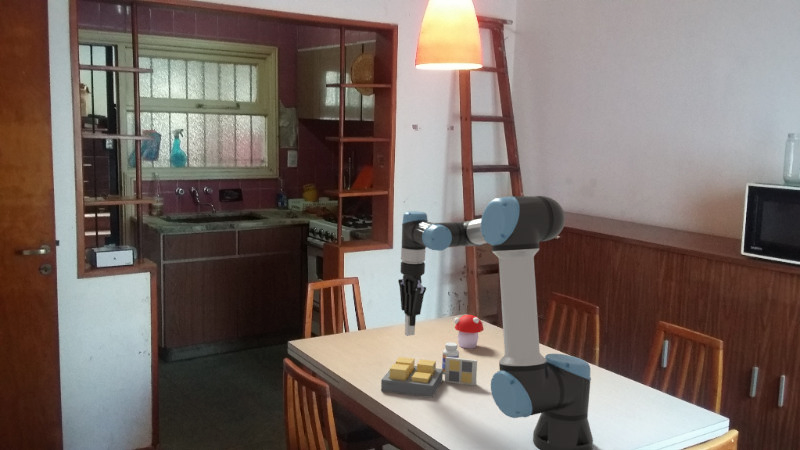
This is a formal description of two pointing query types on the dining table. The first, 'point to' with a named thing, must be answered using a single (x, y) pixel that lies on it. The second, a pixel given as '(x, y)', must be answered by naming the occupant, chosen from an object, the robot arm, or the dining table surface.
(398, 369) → the button
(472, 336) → the mushroom
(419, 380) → the button
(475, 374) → the plaque
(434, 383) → the board
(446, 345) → the pill bottle
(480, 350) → the dining table surface
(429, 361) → the button
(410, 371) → the button
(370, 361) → the dining table surface
